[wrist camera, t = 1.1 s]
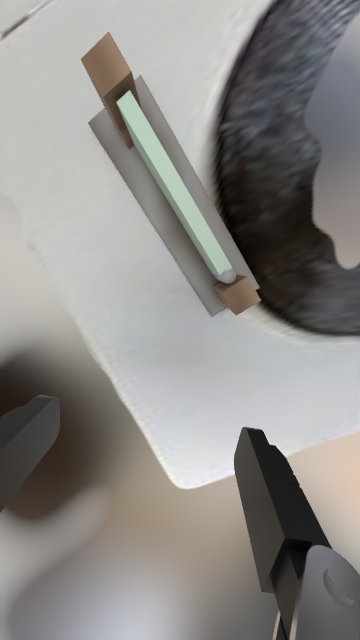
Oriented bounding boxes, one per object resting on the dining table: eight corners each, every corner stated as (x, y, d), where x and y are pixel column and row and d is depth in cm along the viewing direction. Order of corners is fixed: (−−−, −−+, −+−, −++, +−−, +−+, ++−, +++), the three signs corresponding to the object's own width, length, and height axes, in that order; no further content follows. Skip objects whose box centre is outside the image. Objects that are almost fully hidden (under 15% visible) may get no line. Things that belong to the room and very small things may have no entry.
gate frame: (142, 82, 24) (117, -23, 15) (257, 286, 30) (286, 295, 21) (91, 128, 25) (42, 55, 16) (211, 315, 31) (220, 334, 22)
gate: (226, 275, 28) (238, 278, 21) (216, 281, 28) (225, 286, 22) (145, 138, 24) (130, 89, 17) (134, 147, 24) (115, 102, 18)
